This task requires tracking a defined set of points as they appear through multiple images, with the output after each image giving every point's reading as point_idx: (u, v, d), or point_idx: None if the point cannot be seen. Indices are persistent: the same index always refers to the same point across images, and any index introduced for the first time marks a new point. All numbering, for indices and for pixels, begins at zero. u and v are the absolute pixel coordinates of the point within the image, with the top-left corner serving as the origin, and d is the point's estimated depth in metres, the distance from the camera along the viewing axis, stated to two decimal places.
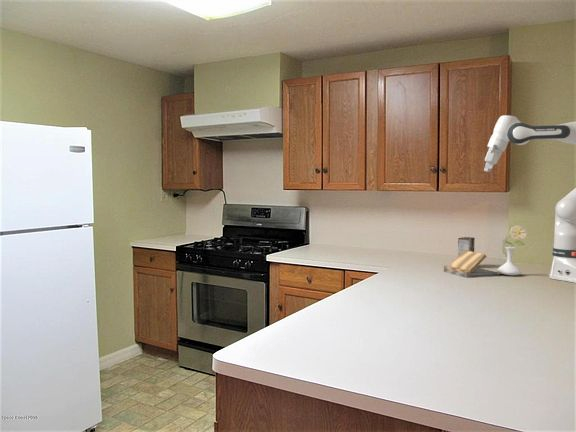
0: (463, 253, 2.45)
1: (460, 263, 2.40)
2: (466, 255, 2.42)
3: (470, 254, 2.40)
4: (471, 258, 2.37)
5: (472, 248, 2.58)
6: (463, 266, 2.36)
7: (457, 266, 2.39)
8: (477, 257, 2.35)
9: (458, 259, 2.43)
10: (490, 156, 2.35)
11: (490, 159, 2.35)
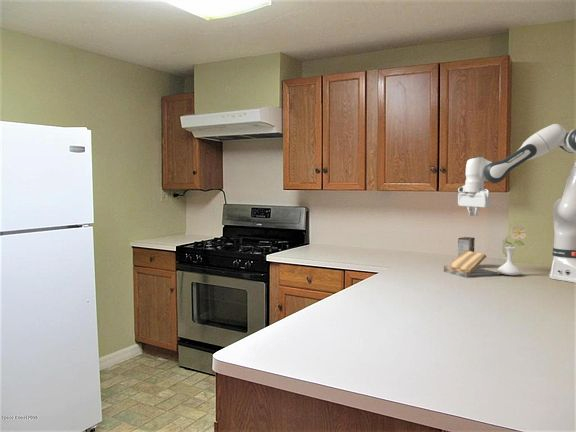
0: (463, 253, 2.45)
1: (460, 263, 2.40)
2: (466, 255, 2.42)
3: (470, 254, 2.40)
4: (471, 258, 2.37)
5: (472, 248, 2.58)
6: (463, 266, 2.36)
7: (457, 266, 2.39)
8: (477, 257, 2.35)
9: (458, 259, 2.43)
10: (488, 201, 2.32)
11: (489, 204, 2.32)
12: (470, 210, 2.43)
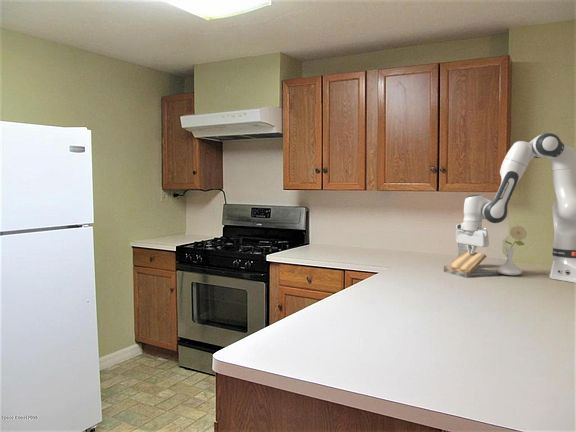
0: (463, 253, 2.45)
1: (460, 263, 2.40)
2: (466, 255, 2.42)
3: (470, 254, 2.40)
4: (471, 258, 2.37)
5: None
6: (463, 266, 2.36)
7: (457, 266, 2.39)
8: (477, 257, 2.35)
9: (458, 259, 2.43)
10: (486, 241, 2.30)
11: (487, 244, 2.30)
12: (469, 248, 2.40)
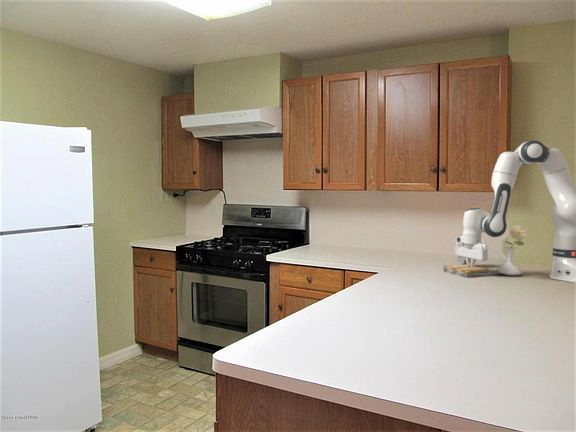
0: (466, 264, 2.46)
1: (461, 267, 2.40)
2: None
3: None
4: (474, 267, 2.38)
5: None
6: (464, 268, 2.36)
7: (457, 267, 2.39)
8: (480, 268, 2.36)
9: (460, 265, 2.44)
10: (485, 254, 2.30)
11: (486, 257, 2.31)
12: (469, 261, 2.41)
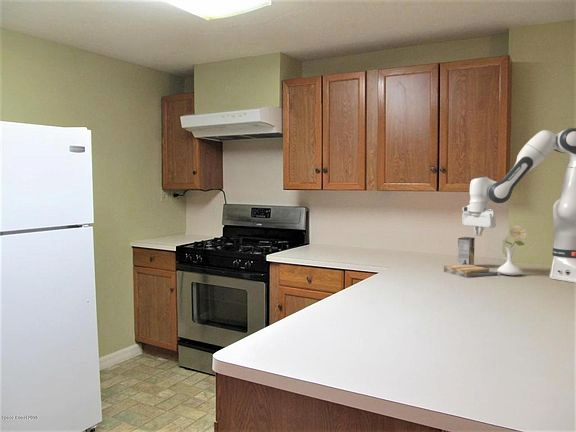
0: (466, 264, 2.46)
1: (461, 267, 2.40)
2: (469, 265, 2.43)
3: (473, 266, 2.42)
4: (474, 267, 2.38)
5: (472, 248, 2.58)
6: (464, 268, 2.36)
7: (457, 267, 2.39)
8: (480, 268, 2.36)
9: (460, 265, 2.44)
10: (493, 221, 2.31)
11: (494, 224, 2.32)
12: (476, 230, 2.42)
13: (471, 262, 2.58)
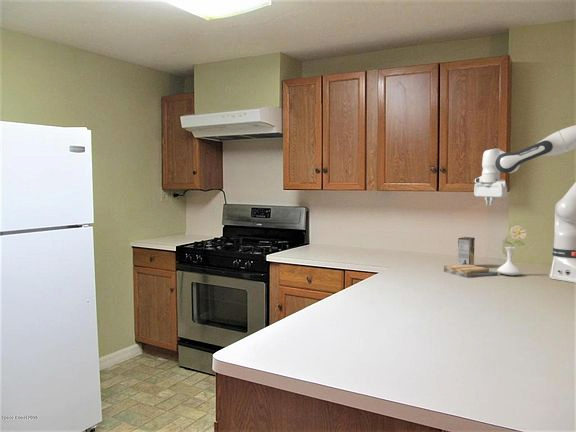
0: (466, 264, 2.46)
1: (461, 267, 2.40)
2: (469, 265, 2.43)
3: (473, 266, 2.42)
4: (474, 267, 2.38)
5: (472, 248, 2.58)
6: (464, 268, 2.36)
7: (457, 267, 2.39)
8: (480, 268, 2.36)
9: (460, 265, 2.44)
10: (505, 191, 2.40)
11: (506, 194, 2.40)
12: (488, 200, 2.51)
13: (471, 262, 2.58)
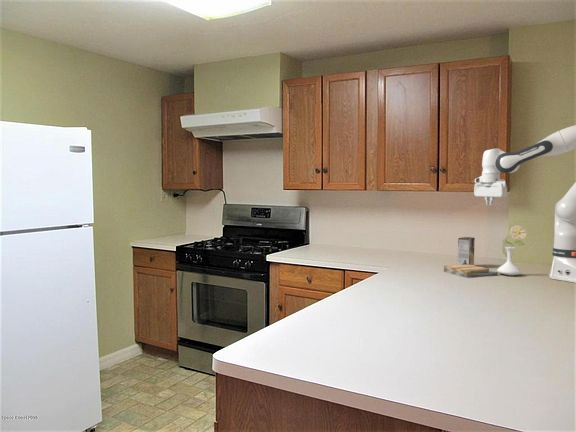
0: (466, 264, 2.46)
1: (461, 267, 2.40)
2: (469, 265, 2.43)
3: (473, 266, 2.42)
4: (474, 267, 2.38)
5: (472, 248, 2.58)
6: (464, 268, 2.36)
7: (457, 267, 2.39)
8: (480, 268, 2.36)
9: (460, 265, 2.44)
10: (505, 191, 2.40)
11: (506, 194, 2.40)
12: (488, 200, 2.51)
13: (471, 262, 2.58)
